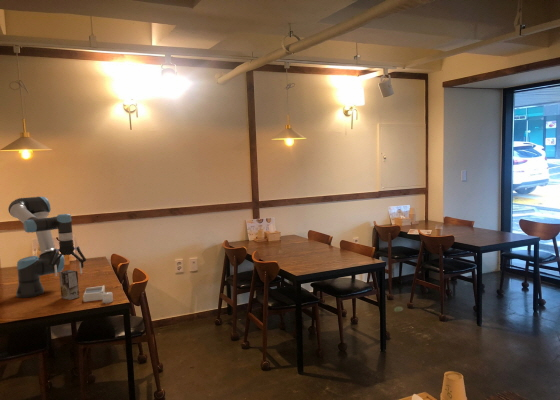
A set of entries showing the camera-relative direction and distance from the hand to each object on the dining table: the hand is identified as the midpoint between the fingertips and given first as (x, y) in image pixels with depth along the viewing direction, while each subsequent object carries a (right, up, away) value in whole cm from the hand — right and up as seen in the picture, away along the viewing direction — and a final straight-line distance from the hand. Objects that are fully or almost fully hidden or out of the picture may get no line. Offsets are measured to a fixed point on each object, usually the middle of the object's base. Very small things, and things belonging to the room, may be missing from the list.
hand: (68, 274), depth 260 cm
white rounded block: (+27, -14, -9) cm, 32 cm away
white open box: (+15, -14, 0) cm, 21 cm away
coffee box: (0, -14, +1) cm, 14 cm away
